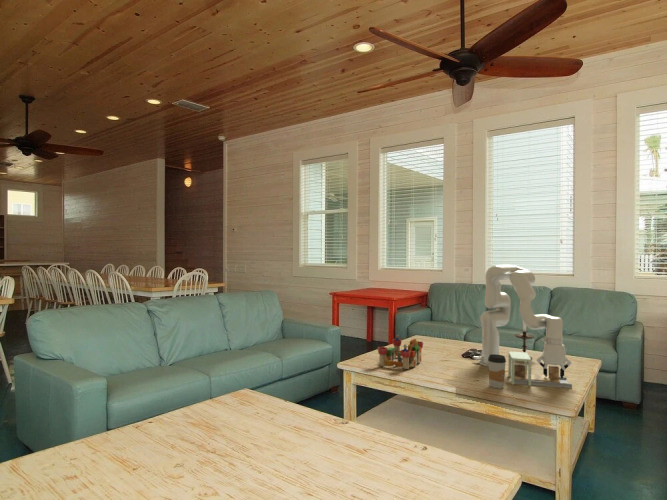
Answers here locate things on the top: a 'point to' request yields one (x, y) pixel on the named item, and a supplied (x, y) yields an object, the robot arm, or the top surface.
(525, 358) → the white stool
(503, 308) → the robot arm
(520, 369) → the cube
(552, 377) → the strip
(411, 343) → the block castle
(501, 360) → the coffee cup
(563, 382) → the lane board
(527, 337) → the candlestick
